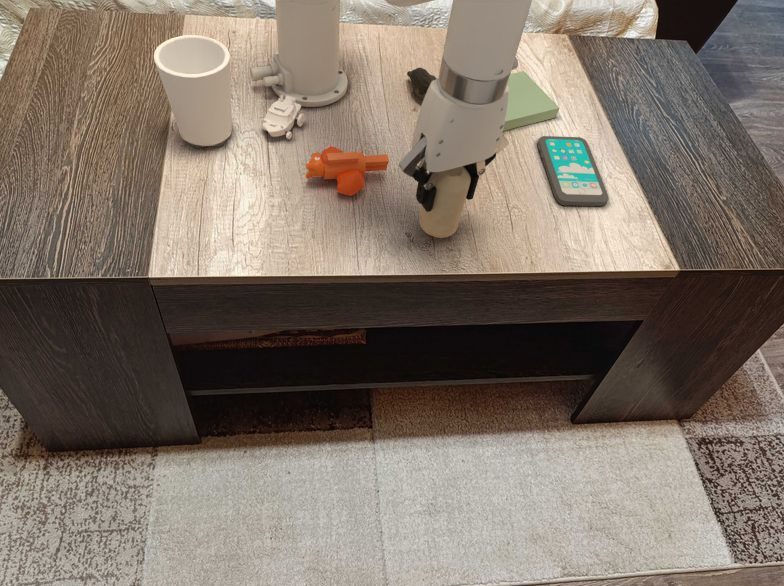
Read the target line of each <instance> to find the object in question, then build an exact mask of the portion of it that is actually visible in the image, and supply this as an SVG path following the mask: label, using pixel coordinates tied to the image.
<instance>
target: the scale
mask: <svg viewBox="0 0 784 586" xmlns="http://www.w3.org/2000/svg"><path fill="white" fill-rule="evenodd" d="M507 85H508V88H509V95H508V107H507V113H506V119H505V124H504V128H503V132H504V131H508V130H513V129H516V128H520V127H523V126H529V125H532V124H536V123H540V122H544V121H548V120H551V119H555V118H557V116H558V113H559V110H560V107H559V105H557V104H556V103H555V102H554V100H553V99H552V98H551V97H550V96H548V94H547V93H546V92H545V91H544V90H543V88H541V87H540V86H539V85H538V84H537V83H536V82H535V80H533V79H532V77H530V75H528V74H527V73H526V72H525V70H523V71H517V72H513V73H511V74H510V77H509V81H508V84H507Z"/></svg>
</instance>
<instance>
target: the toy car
mask: <svg viewBox="0 0 784 586" xmlns="http://www.w3.org/2000/svg"><path fill="white" fill-rule="evenodd" d="M302 107H303V106H302V105H300V104H297V103H296V98H294V97H291V96H288V95H287V96H286V97H285V100H284V99H283V95H281V96H280V97H278V100H276V101H274V102H273V103H272V104H271V105H270V107H269V108H268V110H267V112H266V114H265V116H264V117H263V120H262V124H261V125H262V126H261V129H262V131H267V132H268V134H269V135H270V137H273V138H275V137H281V136H285V138H286V139H287V140H291V138H292V137H293V133H292V131H291V130H292V129H293V127H294V125H295V120H296V124H297V125H296V126H298V127H302V126H303V125H304V122H305V114H304V113H300V111H301V108H302Z"/></svg>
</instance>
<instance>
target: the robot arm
mask: <svg viewBox="0 0 784 586" xmlns="http://www.w3.org/2000/svg"><path fill="white" fill-rule="evenodd" d="M434 1H435V0H384V2H386V3H387V4H388V5H391V6H392V7H393V6H394V7H399V8H406V7H412V6H418V5H421V4H422V5H423V4H426V3H430V2H434ZM532 2H533V0H452V3H451V8H450V14H449V21H448V26H447V30H446V35H445V40H444V45H443V52H442V57H441V61H440V67H439V72H438V78H437V79H436V80H433V81H432V82H431V84H430V86H429V88H428V90H427V93H426V95H425V97H424V100H423V102H422V103H421V106H420V109H419V112H418V115H417V120H416V124H415V128H414V132H413V136H412V142H411V149H410V151H408V152H407V154H406V155H405V156H404V157H403V158H402V159H401V160H400V161H399V163H398V166H399V168H400V170H401V171H402V172H403V173H404V174H405V175H407V176H408V177H410V178H412V179H414V181H416V182H417V186H416V191H415V198H416V201H417V202H418V204H419V205H421V207H422V206H423V207H424V209H425V210H426V212H429V211H431V210H432V208H433V204H434V199H435V195H436V187H435V186H434V184H435V182H436V181H437V179H438V177H439V175H440V173H441V172H442V171H445V170H449V169H453V168H457V167H461V166H463V167H464V168H465V169H466V170H467V171H468V173H469V174H470V177H471V182H470V186H469V189H468V193H467V196H466V200H468V201H471V200H473V199H474V196H475V192H476V190H477V186H478V182H479V179H480V176H483V175H484V174H485V173H486V171H487V169H486V167H487V166H488V165H490V163H492V162H493V161H494V160H495V159H496V158H497V154H499V153H501V152H502V151H503V150H504V149H505V148H506V147H507V146H508V145H509V144H510V143H509V140H508V138H506V136H505V135H504V134H503V132H504V131H503V128H504V124H505V119H506V113H507V107H508V95H509V88H508V85H507V84H508V81H509V77H510V74H512V71H514V70H517V68H518V66H519V61H518V58H517V57H516V56H517V53H518V50H519V46H520V44H521V40H522V36H523V33H524V30H525V26H526V22H527V19H528V17H529V16H528V15H529V13H530V9H531V5H532ZM274 3H275V17H276V19H275V20H276V33H277V34H276V35H277V48H278V53H276V54H272V62H268V63H267V65H263V66H261V65H260V66H255V67H254V66H253V67H250V68H249V75H250V79H251V80H252V82H256V81H262V82H263V86H264V87H265V88H268V87H271V89H272V91H273V92H274V93H275V95H276V96H278V98H280V96H281V95H283V99H284V100H285V97H286V96H287V95H288V96H291V97H294V98H296V103H297V104H300V105H302V106H301V107H305V108H318V107H324V106H328V105H332V104H334V103H336V102H337V101H339V100H340V99H342V98H343V97H344V96H345V94H346V93H347V90H348V84H349V81H348V76H347V74H346V72H345V71H344V70H343V69H342V68H341V66H340V65H339V61H340V25H341V24H340V21H341V19H340V18H341V17H340V16H341V0H274ZM418 164H419V165H418ZM429 172H430V173H429ZM428 173H429V174H428Z"/></svg>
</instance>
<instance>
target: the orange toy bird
mask: <svg viewBox="0 0 784 586" xmlns="http://www.w3.org/2000/svg"><path fill="white" fill-rule="evenodd" d="M389 163H390V159H389V154H387V153H386V154H371V155H365V154H364V152H363V151H362V152H361V151H343V150H342V149H340V148H338V147H336V146H334V145H330V146H328V147H327V148H325V149H323V150H322V151H321V153H319V152H316V151H315V152H312V154H311V158H310V159H309V161H308V163H306V164H305V168H306V169H307V171H306V173H305V178H306V179H311V178H322V177H323V180H334V179H335V180H336V183H337V187H336V191H337V193H339V194H342V195H344V196H345V195H346V196H348V197H350V196H354V195H356V194H357V193H358V192H361V191H363V189H364V188H365V177H366V173H369V172H383V171H387V170H388V165H389Z"/></svg>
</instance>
